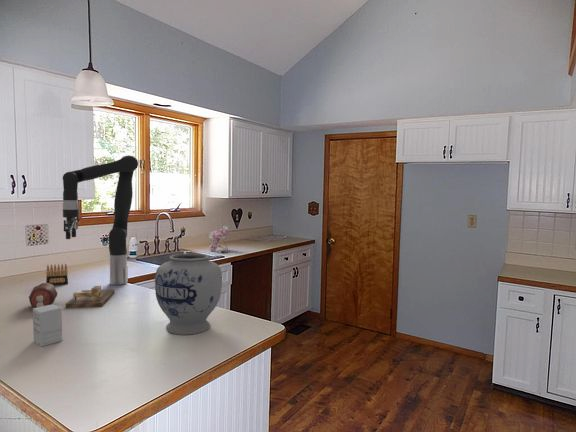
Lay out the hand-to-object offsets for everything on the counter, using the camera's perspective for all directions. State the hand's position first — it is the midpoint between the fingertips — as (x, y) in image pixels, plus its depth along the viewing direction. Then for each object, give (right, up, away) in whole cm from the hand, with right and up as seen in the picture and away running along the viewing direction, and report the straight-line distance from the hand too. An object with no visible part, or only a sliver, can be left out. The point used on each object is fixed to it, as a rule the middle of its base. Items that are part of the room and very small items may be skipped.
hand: (71, 238), depth 215 cm
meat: (+4, -31, -30) cm, 43 cm away
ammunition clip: (-13, -27, +10) cm, 32 cm away
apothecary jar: (+78, -34, -52) cm, 100 cm away
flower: (+56, -20, +134) cm, 146 cm away
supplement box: (+30, -34, -70) cm, 84 cm away
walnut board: (+20, -30, -18) cm, 41 cm away
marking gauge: (+21, -28, -24) cm, 43 cm away
